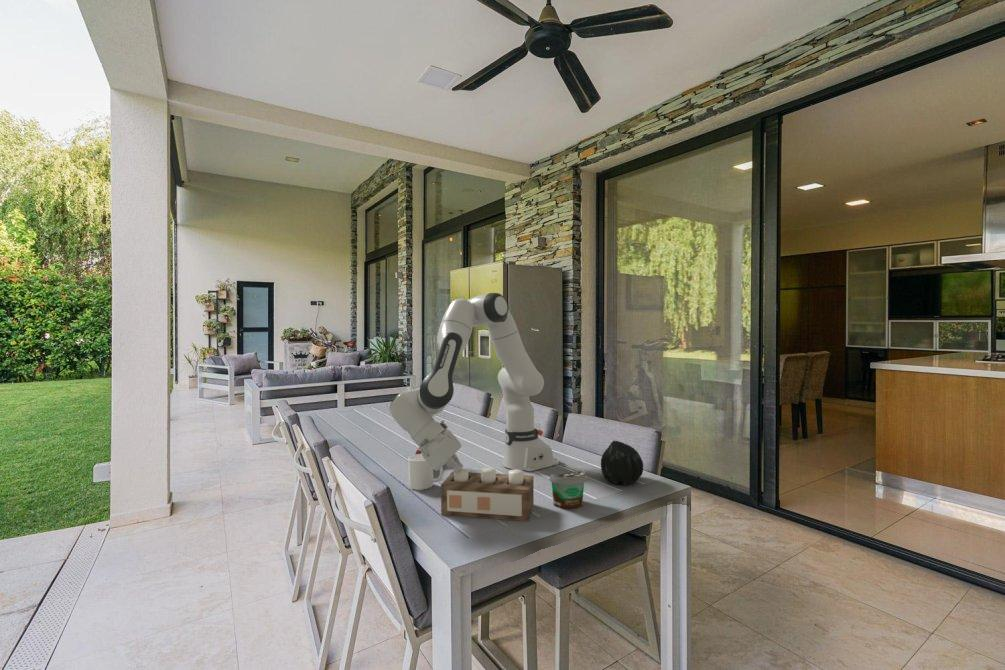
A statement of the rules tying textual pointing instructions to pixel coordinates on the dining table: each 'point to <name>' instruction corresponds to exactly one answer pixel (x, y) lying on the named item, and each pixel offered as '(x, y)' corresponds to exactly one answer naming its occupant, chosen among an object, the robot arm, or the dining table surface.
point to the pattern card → (484, 503)
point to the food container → (568, 489)
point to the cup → (421, 473)
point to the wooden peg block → (498, 487)
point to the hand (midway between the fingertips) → (460, 469)
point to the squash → (621, 463)
